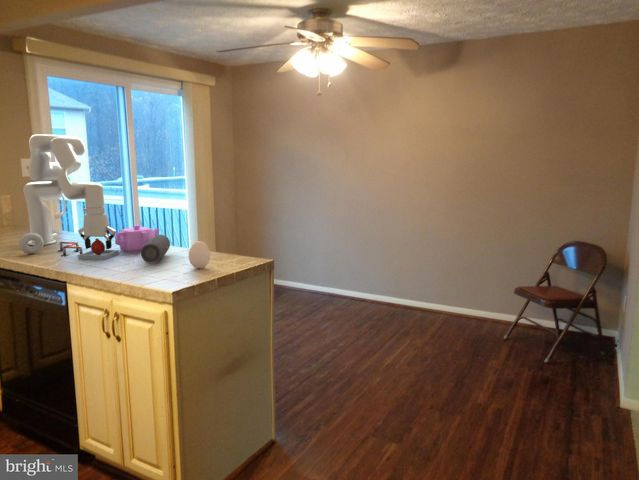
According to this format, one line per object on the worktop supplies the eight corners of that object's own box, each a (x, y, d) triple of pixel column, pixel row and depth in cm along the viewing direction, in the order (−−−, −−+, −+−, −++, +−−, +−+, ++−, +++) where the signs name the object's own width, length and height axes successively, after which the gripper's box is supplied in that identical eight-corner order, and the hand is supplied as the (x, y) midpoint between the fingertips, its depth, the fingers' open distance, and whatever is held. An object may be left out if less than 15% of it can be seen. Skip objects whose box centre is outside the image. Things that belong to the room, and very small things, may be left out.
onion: (94, 254, 213) (93, 237, 212) (107, 253, 214) (106, 237, 212) (89, 257, 208) (87, 239, 206) (102, 256, 208) (101, 239, 207)
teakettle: (114, 253, 217) (112, 227, 215) (126, 246, 234) (125, 222, 232) (151, 253, 218) (149, 227, 216) (161, 246, 235) (159, 222, 233)
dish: (93, 253, 217) (93, 249, 217) (118, 254, 216) (118, 250, 216) (78, 259, 205) (78, 255, 205) (105, 259, 204) (104, 255, 204)
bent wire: (60, 250, 224) (59, 241, 223) (98, 250, 223) (97, 241, 222) (42, 256, 211) (41, 246, 210) (82, 257, 210) (81, 247, 209)
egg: (186, 270, 187) (184, 242, 185) (192, 265, 196) (191, 238, 193) (207, 271, 187) (206, 243, 185) (213, 265, 195) (212, 239, 193)
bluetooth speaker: (163, 265, 195) (161, 242, 193) (140, 266, 194) (138, 242, 192) (172, 254, 217) (171, 233, 216) (151, 254, 216) (150, 233, 214)
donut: (21, 256, 210) (19, 234, 209) (19, 255, 213) (16, 233, 211) (45, 252, 218) (43, 231, 216) (43, 251, 220) (40, 231, 218)
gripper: (72, 211, 204) (75, 249, 207) (109, 212, 203) (112, 250, 206) (81, 209, 211) (85, 246, 214) (118, 210, 210) (121, 247, 213)
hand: (98, 248), depth 210 cm, fingers open, 9 cm apart
